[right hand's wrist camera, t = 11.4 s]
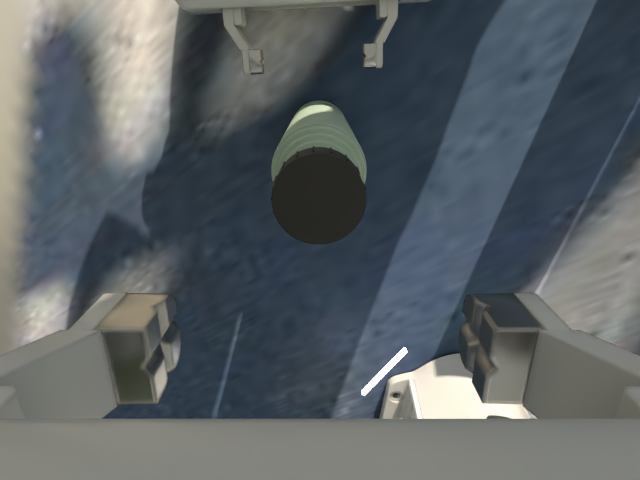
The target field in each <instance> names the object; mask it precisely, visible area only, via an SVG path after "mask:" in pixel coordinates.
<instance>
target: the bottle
mask: <svg viewBox="0 0 640 480" xmlns="http://www.w3.org/2000/svg"><path fill="white" fill-rule="evenodd" d="M313 146H315V147H326V148H330V147H332V149H334V150H336V151H338V152H340V153H342V154H344V155H345V154H346V155H347V157H348V158H349V159H350V160H351V161H352V162H353V164H354V165H355V166H356V167H358V169H359V171H360V176H361V179H362V181H363V182H364V184H365V180H366V173H367V169H366V160H365V156H364V153H363V151H362V149H361V147H360V145H359V143H358V141H357V139H356V137H355V136H354V134H353V132H352V130H351V128H350V126H349V124H348V122H347V121H346V119H345V117H344V115H343V113H342V112H341V111H340V109H339V108H337V107H336V106H335V105H333V104H332V103H329V102H327V101H320V100H319V101H312V102H309V103H307V104H305V105H303V106H302V107H301V108H300V109H299V110H298V111H297V112H296V114H295V115H294V117H293V119H292V121H291V123H290V125H289V126H288V128H287V130H286V132H285V134H284V136H283V138H282V139H281V141H280V143H279V145H278V147H277V149H276V151H275V153H274V156H273V160H272V167H271V173H272V180H273V182H274V179H275V177H276V175H278V173H279V171H280V169H281V167H282V165H283V162H284V161H285V162H286V161H287V160H288V159H289V158H290V157H291V156H293V155H294V154H296V152H297V151H301V150H304V149H307V148H312V147H313ZM273 184H274V183H273Z"/></svg>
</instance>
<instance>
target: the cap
mask: <svg viewBox="0 0 640 480" xmlns="http://www.w3.org/2000/svg"><path fill="white" fill-rule="evenodd" d="M273 183H274V186H273V190H272V197H271V200H272V207H273V212H274V214H275V217H276V219H277V221H278V223H279V224H280V225H281V227H282V228H283V229H284V230H285V231H286V232H287V233H288V234H290V235H291V236H292V237H294V238H296V239H298V240H300V241H302V242H305V243H310V244H328V243H332V242H336V241H338V240H340V239H342V238H344V237H345V236H347V235H348V234H349V233H351V232H352V231H353V230H354V229H355V228H356V226H357V225H358V224H359V222H360V220H361V219H362V216H363V214H364V210H365V207H366V192H365V190H366V187H365V185H364V182H363V181H362V179H361V176H360V171H359V169H358V167H356V166H355V165H354V164H353V162H352V161H351V160H350V159H349V158H348V157H347V155H346V154H345V155H344V154H342V153H340V152H338V151H336V150H334V149H332V147H330V148H326V147H315V146H313V147H312V148H307V149H304V150H301V151H297V152H296V154H294V155H293V156H291V157H290V158H289V159H288V160H287V161H286V162H285V161H284V162H283V165H282V167H281V169H280V171H279V173H278V175H276V177H275V179H274V182H273Z"/></svg>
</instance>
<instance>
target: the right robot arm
mask: <svg viewBox="0 0 640 480" xmlns="http://www.w3.org/2000/svg"><path fill="white" fill-rule="evenodd" d="M177 312H178V310H177V304H176V299H175V297H174V296H173V294H142V293H107V294H103V295H102V296H101V297H100V298H99V299H98V300H97V301H96V302H95V303H94V304H93V305H92V306H91V307H90V308H89V309H88V310H87V311H86V312H85V313H84V314H83V315H82V316H81V317H80V318H79V319H78V321H77V322H76V323H75V324H74V325H73V326H72V327H71V328H70V329H69V330H60V331H57V332H55V333H53V334H50V335H48V336H46V337H43V338H41V339H39V340H36V341H34V342H31V343H29V344H27V345H24V346H22V347H20V348H17V349H15V350H12V351H10V352H8V353H5V354H3V355H1V356H0V480H640V356H639V355H637V354H635V353H632V352H630V351H627V350H625V349H623V348H620V347H618V346H616V345H613V344H611V343H609V342H606V341H604V340H601V339H599V338H597V337H594V336H592V335H590V334H587V333H585V332H583V331H580V330H571V329H570V328H569V327H568V326H567V325H566V324H565V322H564V321H563V320H562V319H561V318H560V317H559V316H558V315H557V314H556V313H555V312H554V311H553V310H552V309H551V308H550V307H549V306H548V305H547V304H546V303H545V302H544V301H543V300H542V299H541V298H540V297H539V296H538V295H537V294H534V293H514V294H513V293H497V294H469V295H466V297H465V300H464V303H463V310H462V312H463V314H464V315H465V317H466V319H467V321H466V322H465V323H464V324H463V325H462V327H461V328H460V332H459V353H458V354H451V355H447V356H443V357H440V358H437V359H435V360H433V361H431V362H429V363H427V364H425V365H424V366H422V367H420V368H419V369H417V370H415V371H413V372H408V373H404V374H400V375H396V376H393V377H391V378H390V379H389V380H388V382H387V385H386V389H385V394H384V398H383V403H382V408H381V412H380V417H379V419H102V418H103V417H104V416H106V415H107V414H108V413H109V412H111V411H112V410H113V409H115V408H116V407H117V404H153V403H158V402H159V400H160V398H161V396H162V394H163V392H164V390H165V388H166V385H167V383H168V377H167V373H169V372H170V371H172V370H173V369H175V367H176V365H177V363H178V360H179V356H180V351H181V332H180V328H179V327H178V325H177V324H176V323H175V322H174V321H173V319H174V317H175V315H176V314H177ZM406 353H407V350H406V348H405V347H404V348H403V349H402V350H401V351H400V352H399V353H398V354H397V355H396V356H395V357H394V358H393V359H392V360H391V361H390V362H389V363H388V364H387V365H386V366H385V367H384V368H383V369H382V370H381V371H380V372H379V373H378V374H377V375H376V376H375V377H374V378H373V379H372V380H371V381H370V382H369V384H368V385H367V386H366V387H365V388H364V389H363V390H362V395H364V396H365V395H366V394H367V393H368V392H369V391H370V390H371V389H372V387H373V386H374V385H375V384H376V383H377V382H378V381H379V380H380V379H381V378H382V377H383V376H384V375H385V374H386V373H387V372H388V371H389V370H390V369H391V368H392V367H393V366H394V365H395V364H396V363H397V362H398V361H399V360H400V359H401V358H402V357H403V356H404V355H405V354H406ZM394 393H398V394H394ZM526 409H527V410H528V411H529V412H531V413H532V414H533V415H535V416H536V417H537V418H538V419H530V416H529V414H528V412H527V410H526Z"/></svg>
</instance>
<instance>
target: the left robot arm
mask: <svg viewBox="0 0 640 480" xmlns="http://www.w3.org/2000/svg"><path fill="white" fill-rule="evenodd" d="M175 1H176V3H177V4H178V5H179V6H180V7H181V8H182V9H183V10H185V11H187V12H189V13H192V14H213V13H223V21H224V27H225V28H226V30H227V31H228V33H229V34H230V36H231V37H232V39H233V41H234V42H235V44H236V45H237V47H238V48H239V50H241V51H242V61H243V70H244V74H245V75H252V74H264V72H265V70H264V64H263V63H262V61H263V59H264V58H263V50H260V49H258V50H252V48H251V46H250V45H249V43H248V42H247V40H246V38H245V37H244V35H243V34H242V32H241V30H240V29H239V27H240V28H245V27H246V17H245V12H251V11H269V10H288V9H306V8H325V7H343V6H362V5H376V19H377V20H383V23H382V25H381V27H380V29H379V31H378V33H377V35H376V37H375V39H374V41H373V43H370V44H363V45H362V55H363V56H364V58H363V59H362V68H363V69H365V68H382V65H383V43H384V42H385V41H386V39H387V37H388V35H389V33H390V31H391V29H392V27H393V25H394V23H395V21H396V20H397V18H398V4H399V3H417V2H428V1H430V0H175Z"/></svg>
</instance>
